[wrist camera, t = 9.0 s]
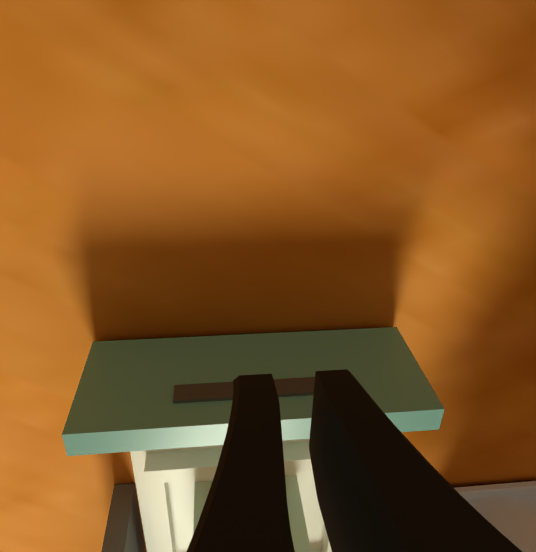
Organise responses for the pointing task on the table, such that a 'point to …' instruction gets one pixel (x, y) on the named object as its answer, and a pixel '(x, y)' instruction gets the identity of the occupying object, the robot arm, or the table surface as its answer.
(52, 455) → the table surface
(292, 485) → the block
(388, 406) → the tray
